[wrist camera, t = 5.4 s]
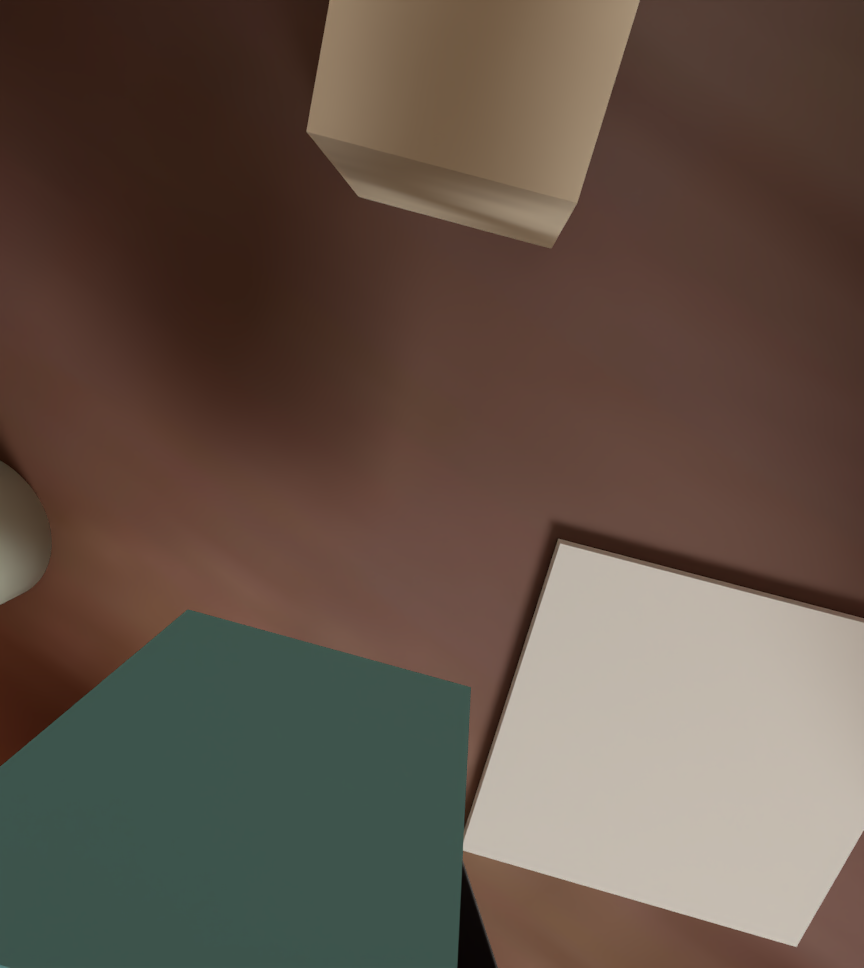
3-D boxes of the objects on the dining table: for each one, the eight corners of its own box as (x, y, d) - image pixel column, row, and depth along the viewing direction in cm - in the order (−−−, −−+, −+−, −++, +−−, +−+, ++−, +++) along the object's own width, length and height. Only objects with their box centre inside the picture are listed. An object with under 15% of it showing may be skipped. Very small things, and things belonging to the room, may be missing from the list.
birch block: (620, 17, 12) (686, -152, 8) (550, 249, 13) (577, 203, 9) (408, -35, 12) (370, -226, 8) (360, 198, 13) (306, 131, 9)
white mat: (953, 641, 14) (967, 649, 14) (789, 933, 17) (796, 946, 16) (558, 538, 14) (560, 543, 14) (461, 838, 17) (460, 849, 17)
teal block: (470, 687, 9) (451, 1105, 4) (405, 906, 10) (326, 1429, 5) (188, 609, 9) (-173, 911, 4) (159, 833, 10) (-143, 1269, 5)
